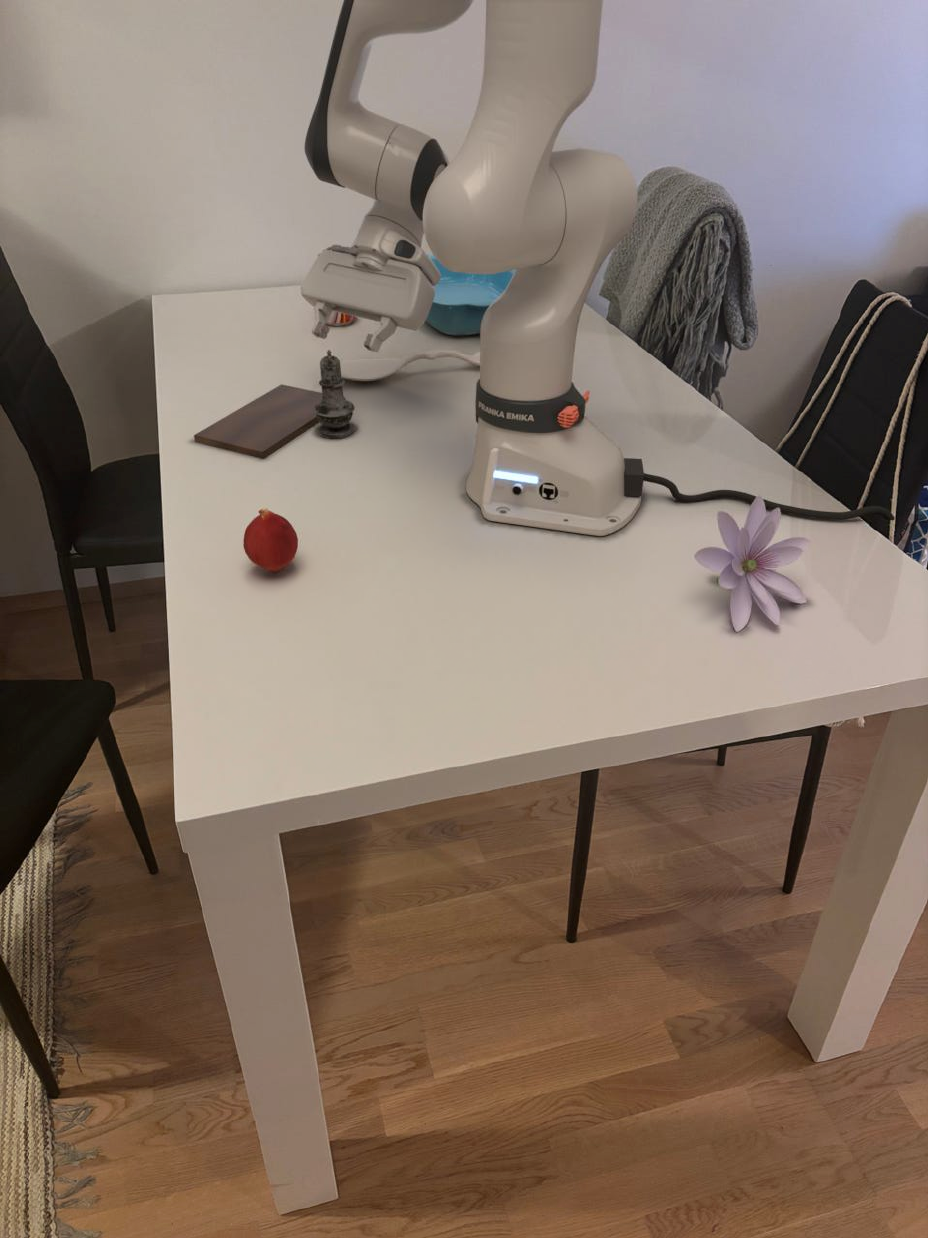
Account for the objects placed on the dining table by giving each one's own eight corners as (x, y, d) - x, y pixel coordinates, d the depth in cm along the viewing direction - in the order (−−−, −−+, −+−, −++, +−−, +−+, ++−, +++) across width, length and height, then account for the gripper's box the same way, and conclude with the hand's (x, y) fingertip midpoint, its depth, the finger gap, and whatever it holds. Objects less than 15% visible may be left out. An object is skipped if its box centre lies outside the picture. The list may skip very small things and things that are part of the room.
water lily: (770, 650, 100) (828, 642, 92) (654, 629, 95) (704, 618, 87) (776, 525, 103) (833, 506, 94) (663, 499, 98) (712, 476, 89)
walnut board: (346, 403, 138) (345, 397, 137) (263, 458, 123) (262, 452, 122) (282, 389, 142) (281, 383, 142) (194, 441, 127) (193, 435, 126)
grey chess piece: (359, 423, 132) (354, 343, 125) (352, 440, 127) (345, 358, 120) (320, 421, 133) (312, 341, 125) (311, 438, 128) (302, 356, 121)
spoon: (527, 373, 148) (528, 352, 146) (334, 391, 142) (332, 370, 139) (511, 354, 155) (512, 334, 153) (327, 371, 149) (325, 350, 146)
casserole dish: (379, 291, 184) (377, 254, 180) (480, 280, 190) (480, 244, 186) (438, 350, 156) (438, 309, 152) (554, 335, 162) (557, 295, 158)
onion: (277, 551, 104) (269, 489, 99) (311, 568, 101) (304, 506, 96) (238, 572, 100) (226, 509, 95) (272, 591, 97) (262, 527, 92)
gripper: (314, 229, 127) (275, 317, 127) (432, 251, 118) (390, 345, 118) (337, 255, 133) (300, 339, 132) (451, 278, 124) (411, 368, 123)
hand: (343, 342), depth 125 cm, fingers open, 8 cm apart
